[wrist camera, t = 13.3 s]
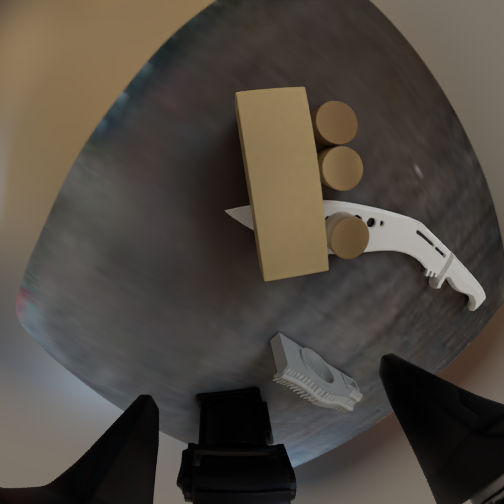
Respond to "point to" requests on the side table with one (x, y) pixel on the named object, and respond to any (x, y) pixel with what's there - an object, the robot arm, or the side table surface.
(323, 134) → the crumb
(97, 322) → the side table surface
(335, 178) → the short tan cylinder
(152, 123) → the side table surface
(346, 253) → the tan squat cylinder
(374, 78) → the side table surface
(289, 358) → the garden wall model
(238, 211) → the knife
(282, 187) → the oblong tan box
